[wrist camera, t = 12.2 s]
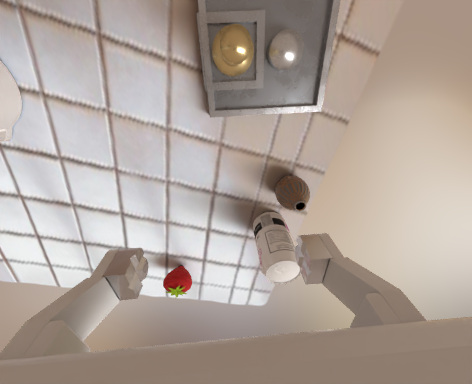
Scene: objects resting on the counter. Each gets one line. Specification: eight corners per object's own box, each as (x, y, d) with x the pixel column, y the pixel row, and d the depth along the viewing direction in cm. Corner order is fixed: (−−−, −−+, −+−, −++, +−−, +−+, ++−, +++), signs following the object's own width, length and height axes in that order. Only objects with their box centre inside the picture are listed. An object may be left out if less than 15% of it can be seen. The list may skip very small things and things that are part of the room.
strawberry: (168, 257, 54) (158, 291, 46) (195, 260, 56) (190, 293, 47) (167, 271, 57) (158, 305, 49) (193, 273, 58) (188, 307, 50)
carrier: (208, 115, 36) (207, 118, 33) (193, -23, 27) (189, -37, 23) (316, 109, 36) (324, 112, 33) (337, -28, 27) (352, -41, 24)
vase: (276, 200, 47) (286, 224, 39) (269, 177, 43) (278, 198, 36) (304, 191, 46) (320, 214, 38) (299, 166, 42) (315, 186, 35)
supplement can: (289, 222, 50) (312, 271, 38) (265, 239, 53) (279, 290, 40) (270, 204, 47) (289, 251, 34) (245, 223, 50) (254, 274, 37)
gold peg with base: (215, 77, 32) (212, 76, 23) (211, 30, 29) (206, 10, 20) (251, 75, 32) (261, 74, 23) (251, 28, 29) (263, 7, 20)
